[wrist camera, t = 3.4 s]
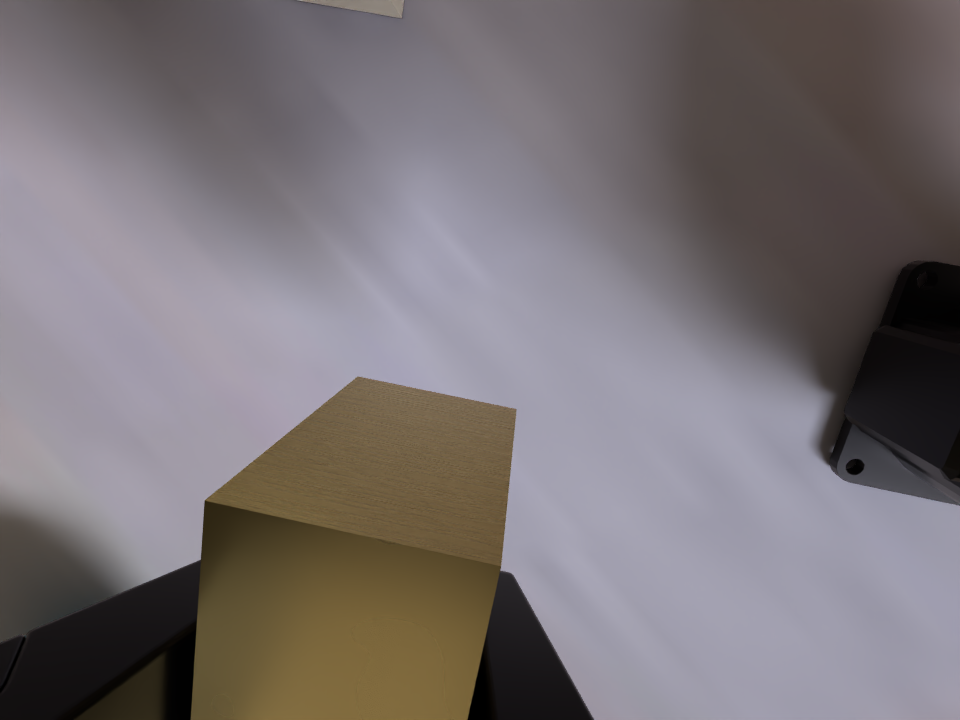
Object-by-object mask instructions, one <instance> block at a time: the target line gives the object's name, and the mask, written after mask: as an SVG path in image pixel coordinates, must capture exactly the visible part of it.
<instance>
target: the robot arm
mask: <svg viewBox="0 0 960 720" xmlns="http://www.w3.org/2000/svg"><path fill="white" fill-rule="evenodd" d="M923 272H926V274H927V282H926V283H925V284H924V286H922V287H920V288H919V286H918V285H917V278H918V277H919V276H920V274H921V273H923ZM844 413H845V415H846V418H845V420H844V423H843V426H842V428H841V431H840V434H839V436H838V439H837V442H836V444H835V447H834V450H833V452H832V455H831V458H830V467H831V470H832V471H833V472H834V473H835V474H836V475H838V476H839V477H840V478H841V479H843V480H845V481H847V482H850V483H855V484H860V485H864V486H869V487H874V488H879V489H883V490H888V491H893V492H898V493H902V494H907V495H912V496H917V497H922V498H926V499H931V500H936V501H941V502H945V503H950V504H955V505H960V266H955V265H950V264H945V263H939V262H933V261H915V262H912V263H910V264H908V265H907V266H906V267H904V268H903V269H902V271H901V272H900V274H899V276H898V278H897V281H896V284H895V286H894V289H893V292H892V294H891V297H890V300H889V302H888V305H887V308H886V311H885V313H884V316H883V319H882V321H881V324H880V327H879V329H878V330H876V331H875V332H874V333H873V335H872V337H871V340H870V343H869V345H868V348H867V351H866V353H865V356H864V359H863V361H862V364H861V367H860V370H859V372H858V375H857V378H856V380H855V383H854V386H853V388H852V391H851V394H850V396H849V399H848V402H847V404H846V407H845V410H844ZM852 459H857V461H856V464H855V466H854V467H852V468H850V469H846V464H847V463H848V462H849V461H850V460H852ZM200 567H201V560H199V561H197V562H194V563H192V564H189V565H187V566H185V567H182V568H180V569H177V570H175V571H173V572H170V573H168V574H165V575H163V576H161V577H158V578H156V579H153V580H151V581H149V582H146V583H144V584H141V585H139V586H137V587H134V588H132V589H129V590H127V591H125V592H122V593H120V594H117V595H115V596H112V597H110V598H108V599H105V600H103V601H100V602H98V603H96V604H93V605H91V606H88V607H86V608H84V609H81V610H79V611H76V612H74V613H71V614H69V615H67V616H64V617H62V618H59V619H57V620H55V621H52V622H50V623H47V624H45V625H43V626H40V627H38V628H35V629H33V630H31V631H29V632H28V633H27V635H26V637H25V636H24V635H18V636H16V637H13V638H11V639H8V640H6V641H4V642H1V643H0V720H191V708H192V692H193V677H194V661H195V646H196V630H197V614H198V599H199V583H200ZM467 720H594V719H593V717H592V715H591V713H590V712H589V710H588V708H587V706H586V704H585V703H584V701H583V699H582V697H581V695H580V694H579V692H578V690H577V688H576V687H575V685H574V683H573V681H572V679H571V678H570V676H569V674H568V672H567V670H566V669H565V667H564V665H563V663H562V661H561V660H560V658H559V656H558V654H557V652H556V651H555V649H554V647H553V645H552V643H551V642H550V640H549V638H548V636H547V635H546V633H545V631H544V629H543V627H542V626H541V624H540V622H539V620H538V618H537V617H536V615H535V613H534V611H533V609H532V608H531V606H530V604H529V602H528V600H527V599H526V597H525V595H524V593H523V591H522V590H521V588H520V586H519V584H518V583H517V581H516V579H515V577H514V576H513V575H512V574H511V573H509V572H505V571H500V573H499V578H498V582H497V587H496V592H495V596H494V601H493V605H492V610H491V614H490V619H489V623H488V628H487V632H486V637H485V641H484V646H483V651H482V655H481V660H480V664H479V669H478V673H477V678H476V682H475V687H474V691H473V696H472V701H471V705H470V710H469V714H468V719H467Z"/></svg>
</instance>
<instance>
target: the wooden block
mask: <svg viewBox="0 0 960 720" xmlns="http://www.w3.org/2000/svg"><path fill="white" fill-rule="evenodd" d="M515 419H516V409H513V408H508V407H503V406H499V405H494V404H489V403H484V402H479V401H474V400H469V399H465V398H460V397H455V396H450V395H445V394H440V393H435V392H431V391H426V390H421V389H416V388H411V387H406V386H402V385H397V384H392V383H387V382H382V381H377V380H372V379H368V378H363V377H357V378H355V379H354V380H353V381H352V382H350V383H349V384H348V385H347V386H345V387H344V388H343V389H342V390H340V391H339V392H338V393H337V394H336V395H334V396H333V397H332V398H331V399H329V400H328V401H327V402H326V403H324V404H323V405H322V406H321V407H319V408H318V409H317V410H316V411H315V412H313V413H312V414H311V415H310V416H308V417H307V418H306V419H305V420H303V421H302V422H301V423H300V424H299V425H297V426H296V427H295V428H294V429H292V430H291V431H290V432H289V433H287V434H286V435H285V436H284V437H282V438H281V439H280V440H279V441H278V442H276V443H275V444H274V445H273V446H271V447H270V448H269V449H268V450H266V451H265V452H264V453H263V454H261V455H260V456H259V457H258V458H257V459H255V460H254V461H253V462H252V463H250V464H249V465H248V466H247V467H245V468H244V469H243V470H242V471H241V472H239V473H238V474H237V475H236V476H234V477H233V478H232V479H231V480H229V481H228V482H227V483H226V484H224V485H223V486H222V487H221V488H220V489H218V490H217V491H216V492H215V493H213V494H212V495H211V496H210V497H208V498H207V499H206V500H205V505H204V520H203V536H202V552H201V567H200V583H199V599H198V614H197V630H196V646H195V661H194V677H193V692H192V708H191V720H467V719H468V714H469V710H470V705H471V701H472V696H473V691H474V687H475V682H476V678H477V673H478V669H479V664H480V660H481V655H482V651H483V646H484V641H485V637H486V632H487V628H488V623H489V619H490V614H491V610H492V605H493V601H494V596H495V592H496V587H497V582H498V578H499V573H500V569H501V562H502V552H503V541H504V531H505V521H506V511H507V501H508V491H509V480H510V470H511V460H512V450H513V440H514V430H515Z"/></svg>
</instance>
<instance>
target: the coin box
mask: <svg viewBox="0 0 960 720" xmlns="http://www.w3.org/2000/svg"><path fill="white" fill-rule="evenodd" d="M298 1H303V2H309V3H315V4H321V5H327V6H333V7H339V8H345V9H350V10H356V11H362V12H368V13H374V14H380V15H386V16H392V17H397V18H402V12H403V5H404V0H298Z"/></svg>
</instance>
